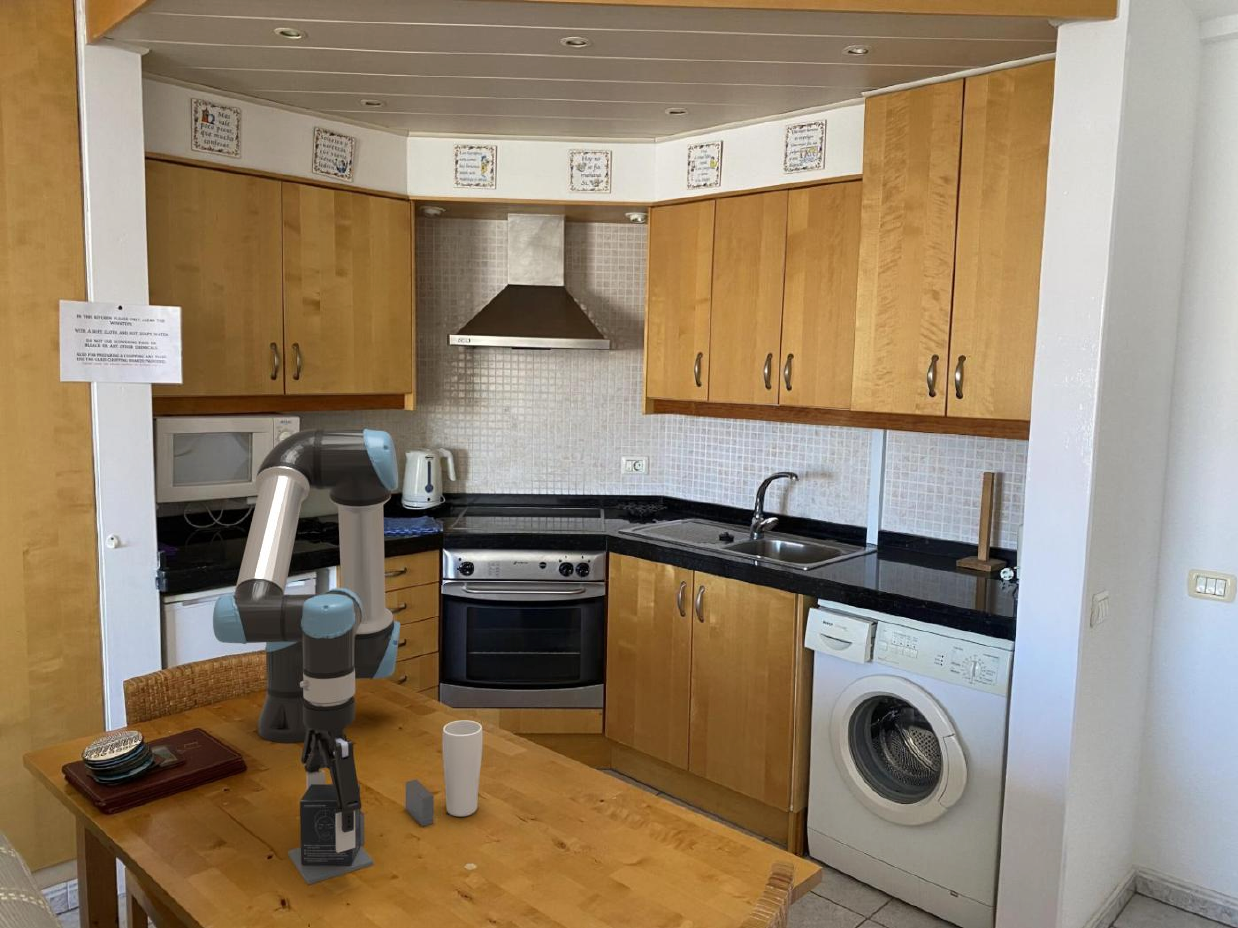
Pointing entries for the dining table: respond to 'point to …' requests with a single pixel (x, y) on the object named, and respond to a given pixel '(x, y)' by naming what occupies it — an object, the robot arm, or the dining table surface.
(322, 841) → the box
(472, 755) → the drinking glass
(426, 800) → the vise
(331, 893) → the dining table surface
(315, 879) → the mat
